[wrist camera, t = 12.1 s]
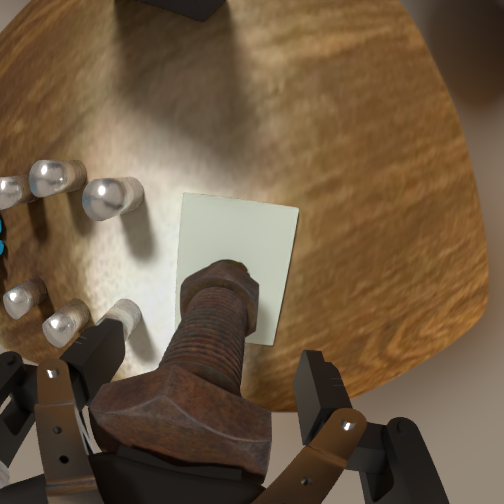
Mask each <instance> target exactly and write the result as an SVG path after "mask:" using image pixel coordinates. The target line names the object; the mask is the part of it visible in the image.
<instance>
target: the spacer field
mask: <svg viewBox="0 0 504 504" xmlns="http://www.w3.org/2000/svg"><path fill="white" fill-rule="evenodd" d="M85 180H86V169H85V166H84V164H83V163H82V162H81V161H79V160H40V161H37V162H36V163H35V164H34V165H33V167H32V168H31V171H30V174H29V175H19V176H11V177H2V178H0V210H1V209H5V208H9V207H13V206H17V205H22V204H26V203H31V202H35V201H36V200H37V199H38V198H39V197H44V196H50V195H55V194H61V193H67V192H73V191H77V190H79V189H81V188H82V186H83V185H84V183H85ZM143 197H144V190H143V187H142V185H141V183H140V182H139V181H138V180H137V179H136V178H133V177H118V178H105V179H95V180H93V181H91V182H90V183H89V184H88V185H87V186H86V187H85V189H84V192H83V195H82V205H83V208H84V211H85V213H86V214H87V215H88V217H90V218H91V219H92V220H95V221H103V220H106V219H109V218H112V217H115V216H118V215H121V214H124V213H126V212H129V211H132V210H135V209H137V208H138V207H139V206H140V205H141V203H142V201H143ZM46 297H47V289H46V286H45V284H44V282H43V281H42V280H41V279H40V278H39V277H37V276H34V277H32V278H30V279H28V280H27V281H25V282H23V283H22V284H20V285H18V286H17V287H15V288H13V289H12V290H10V291H8V292H7V293H5V294H4V296H3V302H4V306H5V308H6V310H7V312H8V313H9V315H10V316H11V317H12V318H14V319H18V318H20V317H21V316H22V315H24V314H25V313H26V312H28V311H29V310H31V309H32V308H33V307H35V306H36V305H37V304H39V303H40V302H42V301H43V300H44V299H46ZM106 317H107V318H111V319H115V320H119V321H122V323H123V330H124V341H126V340H127V338H128V337H129V336H130V334H131V333H132V332H133V330H134V329H135V327H136V326H137V325H138V323H139V322H140V320H141V311H140V309H139V307H138V306H137V305H136V304H135V303H134V302H133V301H131V300H129V299H121V300H119V301H118V302H117V303H116V304H115V305H114V306H113V307H112V308H111V309H110V310H109V311H108V312H107V313H106V314H105V315H104V316H103V317H102V318H101V319H100V320H99V321H98V322H97V323H96V324H95V325H96V326H98V325H99V324H100V323H101V322H102V321H103V320H104V319H105V318H106ZM89 319H90V312H89V309H88V308H87V306H86V305H85V303H83V302H82V301H81V300H79V299H72V300H71V301H69V302H68V303H67V304H66V305H64V306H63V307H62V308H61V309H59V310H58V311H57V312H56V313H54V314H53V315H52V316H51V317H49V318H48V319H47V320H46V321H45V322H44V323H43V332H44V334H45V336H46V338H47V339H48V341H49V342H50V343H51V344H53V345H54V346H56V347H59V348H61V347H63V346H64V345H65V344H66V343H67V342H68V341H69V340H70V339H71V338H72V337H73V336H74V335H75V334H76V333H77V332H78V331H79V330H80V329H81V328H82V327H83V326H84V325H85V324H86V323H87V322H88V321H89Z"/></svg>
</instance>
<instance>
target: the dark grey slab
mask: <svg viewBox="0 0 504 504" xmlns="http://www.w3.org/2000/svg"><path fill="white" fill-rule="evenodd" d="M136 1H140V2H144V3H147V4H151V5H154V6H157V7H161V8H164V9H167V10H170V11H173V12H176V13H179V14H182V15H184V16H187V17H190V18H193V19H195V20H198V21H200V22H204V21H205V20H206V19H207V18H208V17H209V16H210V15H211V14H212V13H213V12H214V11H215V10H216V9H217V8H218V7H219V6H220V5H221V4H222V3H223V2H224V1H225V0H136Z"/></svg>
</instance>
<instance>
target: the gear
mask: <svg viewBox="0 0 504 504" xmlns="http://www.w3.org/2000/svg"><path fill="white" fill-rule="evenodd" d="M1 230H2V222H1V220H0V233H1ZM4 244H5V243H4V242H3V241H1V240H0V255H1V253H2V251H3V248H4Z"/></svg>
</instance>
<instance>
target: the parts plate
mask: <svg viewBox="0 0 504 504" xmlns="http://www.w3.org/2000/svg"><path fill="white" fill-rule="evenodd" d="M298 211H299V208H296V207H290V206H284V205H277V204H271V203H264V202H257V201H250V200H242V199H235V198H227V197H219V196H211V195H203V194H194V193H183V198H182V208H181V219H180V231H179V244H178V259H177V278H176V304H175V331H176V330H177V328H178V325H179V324H180V322H181V315H180V288H181V284H182V283H183V281H184V280H185V278H187V277H188V276H190V275H192V274H194V273H195V272H197V271H199V270H201V269H203V268H205V267H208V266H210V264H211V263H214V262H216V261H219V260H222V259H231V260H234V261H237V262H242V263H243V264H244V265H245V266H246V267H247V269H248V272H247V273H250V277H251V278H252V279H254V280H255V281H256V282H257V283H259V304H258V315H257V326H256V331H255V332H254V333H252V334H250V335H249V336H247V337H245V342H246V343H254V344H262V345H272V346H273V342H274V337H275V332H276V328H277V323H278V318H279V313H280V308H281V303H282V298H283V293H284V288H285V283H286V278H287V273H288V268H289V262H290V257H291V251H292V246H293V240H294V235H295V229H296V223H297V217H298Z"/></svg>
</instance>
